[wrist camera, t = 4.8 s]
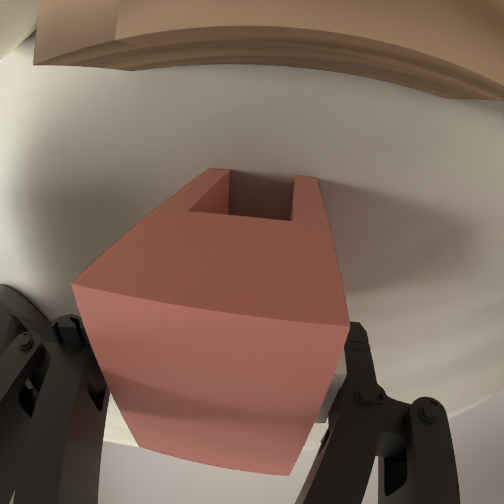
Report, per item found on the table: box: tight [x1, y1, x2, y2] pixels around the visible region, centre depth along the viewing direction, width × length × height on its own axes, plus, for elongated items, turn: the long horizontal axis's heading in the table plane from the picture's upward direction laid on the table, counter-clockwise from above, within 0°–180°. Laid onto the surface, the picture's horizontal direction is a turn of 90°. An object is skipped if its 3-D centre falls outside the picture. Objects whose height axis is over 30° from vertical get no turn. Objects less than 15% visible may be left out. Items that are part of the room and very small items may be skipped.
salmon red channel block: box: [71, 168, 350, 476], centre depth 13 cm, size 8×6×12 cm
